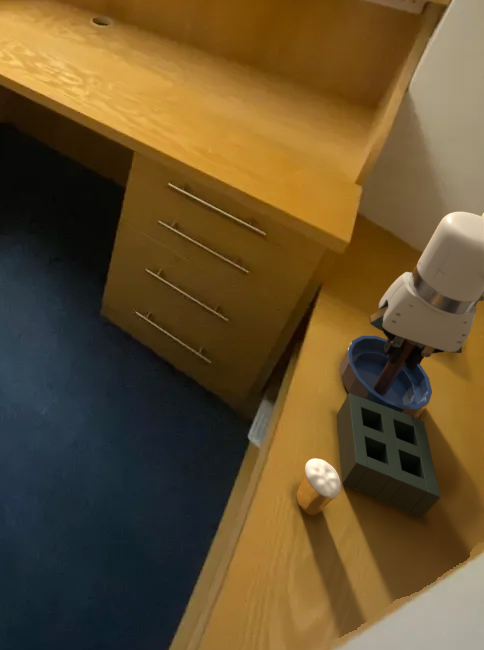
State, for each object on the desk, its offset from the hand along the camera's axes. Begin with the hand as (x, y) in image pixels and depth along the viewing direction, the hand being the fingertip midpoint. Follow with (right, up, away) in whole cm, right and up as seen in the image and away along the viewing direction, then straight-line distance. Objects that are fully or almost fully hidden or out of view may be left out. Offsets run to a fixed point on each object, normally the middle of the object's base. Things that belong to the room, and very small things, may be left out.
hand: (399, 357), depth 83 cm
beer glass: (-19, -18, -7) cm, 27 cm away
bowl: (+1, -9, +7) cm, 12 cm away
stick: (0, -8, +5) cm, 10 cm away
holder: (-6, -15, -3) cm, 16 cm away
